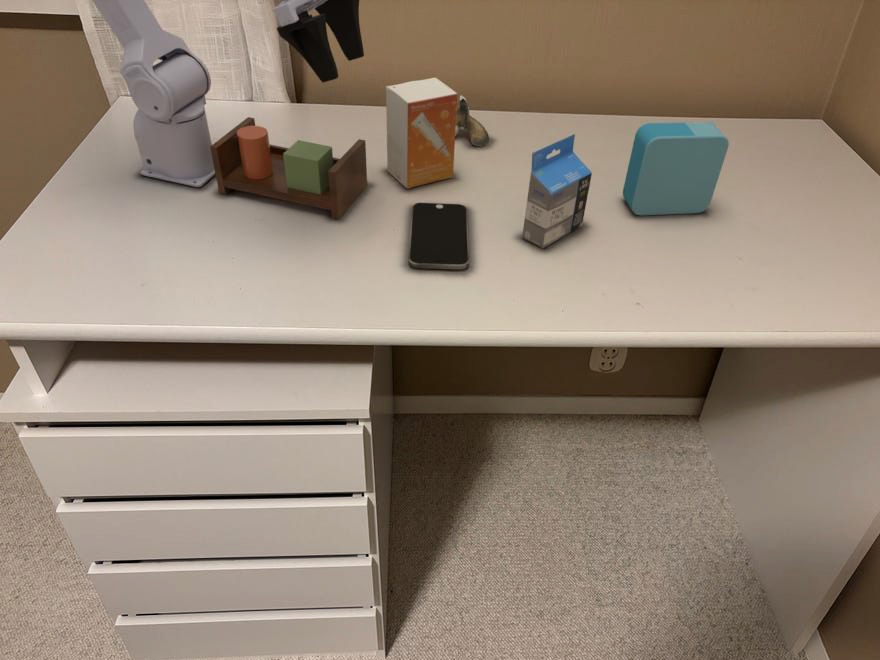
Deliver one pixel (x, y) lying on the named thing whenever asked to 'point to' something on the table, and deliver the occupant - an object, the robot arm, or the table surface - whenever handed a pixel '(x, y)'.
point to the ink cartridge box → (555, 194)
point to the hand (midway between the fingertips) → (343, 68)
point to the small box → (420, 131)
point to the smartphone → (439, 236)
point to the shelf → (338, 197)
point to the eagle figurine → (470, 124)
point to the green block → (308, 166)
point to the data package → (674, 167)
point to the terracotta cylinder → (255, 152)
